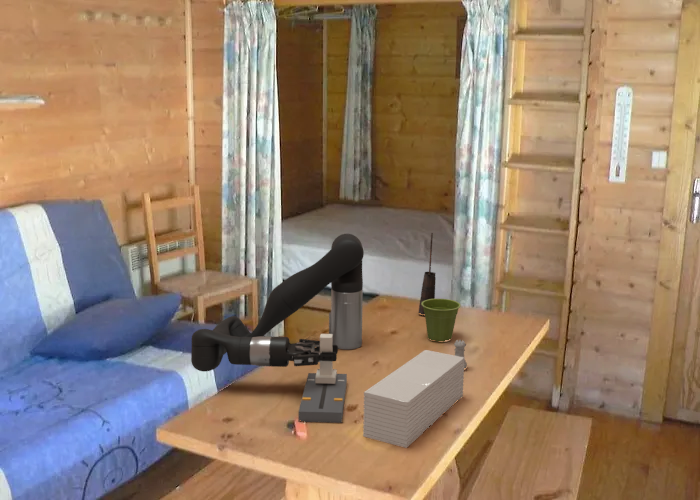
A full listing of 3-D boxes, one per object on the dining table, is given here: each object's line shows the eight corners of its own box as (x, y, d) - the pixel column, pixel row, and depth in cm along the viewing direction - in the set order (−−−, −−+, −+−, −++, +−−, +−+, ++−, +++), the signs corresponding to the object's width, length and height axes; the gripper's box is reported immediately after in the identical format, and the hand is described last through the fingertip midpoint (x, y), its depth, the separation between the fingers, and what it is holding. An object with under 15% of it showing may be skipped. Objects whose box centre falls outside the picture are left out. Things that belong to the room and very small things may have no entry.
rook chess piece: (468, 367, 213) (469, 339, 211) (465, 372, 209) (466, 344, 207) (452, 365, 214) (453, 337, 213) (449, 370, 210) (450, 342, 209)
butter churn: (433, 321, 253) (436, 238, 247) (407, 316, 258) (409, 234, 252) (444, 314, 261) (447, 233, 255) (419, 310, 266) (421, 230, 260)
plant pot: (412, 339, 236) (413, 303, 233) (435, 330, 244) (436, 296, 242) (443, 348, 228) (445, 312, 225) (466, 339, 236) (468, 303, 234)
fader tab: (317, 374, 199) (317, 331, 196) (336, 374, 199) (336, 332, 196) (315, 383, 193) (315, 339, 190) (335, 383, 193) (335, 339, 190)
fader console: (308, 381, 202) (308, 371, 201) (346, 382, 201) (346, 372, 201) (298, 421, 178) (298, 410, 178) (341, 422, 178) (341, 411, 177)
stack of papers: (424, 389, 198) (425, 349, 196) (462, 398, 193) (464, 357, 191) (363, 437, 171) (363, 391, 169) (406, 449, 166) (407, 402, 164)
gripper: (274, 355, 203) (338, 357, 202) (265, 375, 189) (335, 377, 188) (273, 328, 201) (338, 329, 200) (265, 346, 187) (335, 348, 186)
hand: (336, 353), depth 194 cm, fingers open, 4 cm apart
